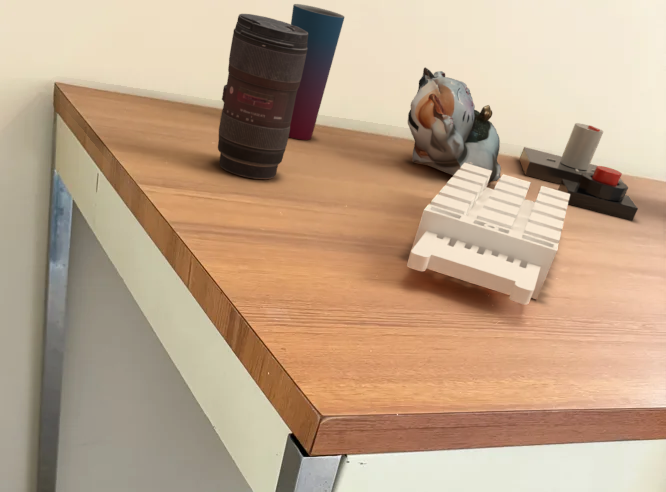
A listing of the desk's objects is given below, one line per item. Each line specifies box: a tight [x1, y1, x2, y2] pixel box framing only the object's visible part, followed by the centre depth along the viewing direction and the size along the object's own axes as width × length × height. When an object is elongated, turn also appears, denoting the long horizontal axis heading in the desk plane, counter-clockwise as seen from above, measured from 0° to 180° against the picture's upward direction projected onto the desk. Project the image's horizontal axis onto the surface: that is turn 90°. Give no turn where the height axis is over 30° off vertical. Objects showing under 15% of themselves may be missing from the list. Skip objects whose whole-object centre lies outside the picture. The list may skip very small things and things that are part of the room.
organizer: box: [406, 163, 570, 306], centre depth 87 cm, size 13×5×35 cm
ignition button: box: [592, 165, 623, 185], centre depth 116 cm, size 4×4×2 cm
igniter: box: [557, 172, 639, 222], centre depth 117 cm, size 10×7×4 cm
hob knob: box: [560, 122, 604, 170], centre depth 126 cm, size 4×4×6 cm
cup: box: [288, 3, 345, 141], centre depth 111 cm, size 7×7×15 cm
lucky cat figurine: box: [407, 67, 502, 186], centre depth 113 cm, size 15×12×14 cm
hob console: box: [519, 146, 625, 185], centre depth 129 cm, size 15×11×2 cm
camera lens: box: [217, 13, 308, 180], centre depth 91 cm, size 8×8×15 cm
